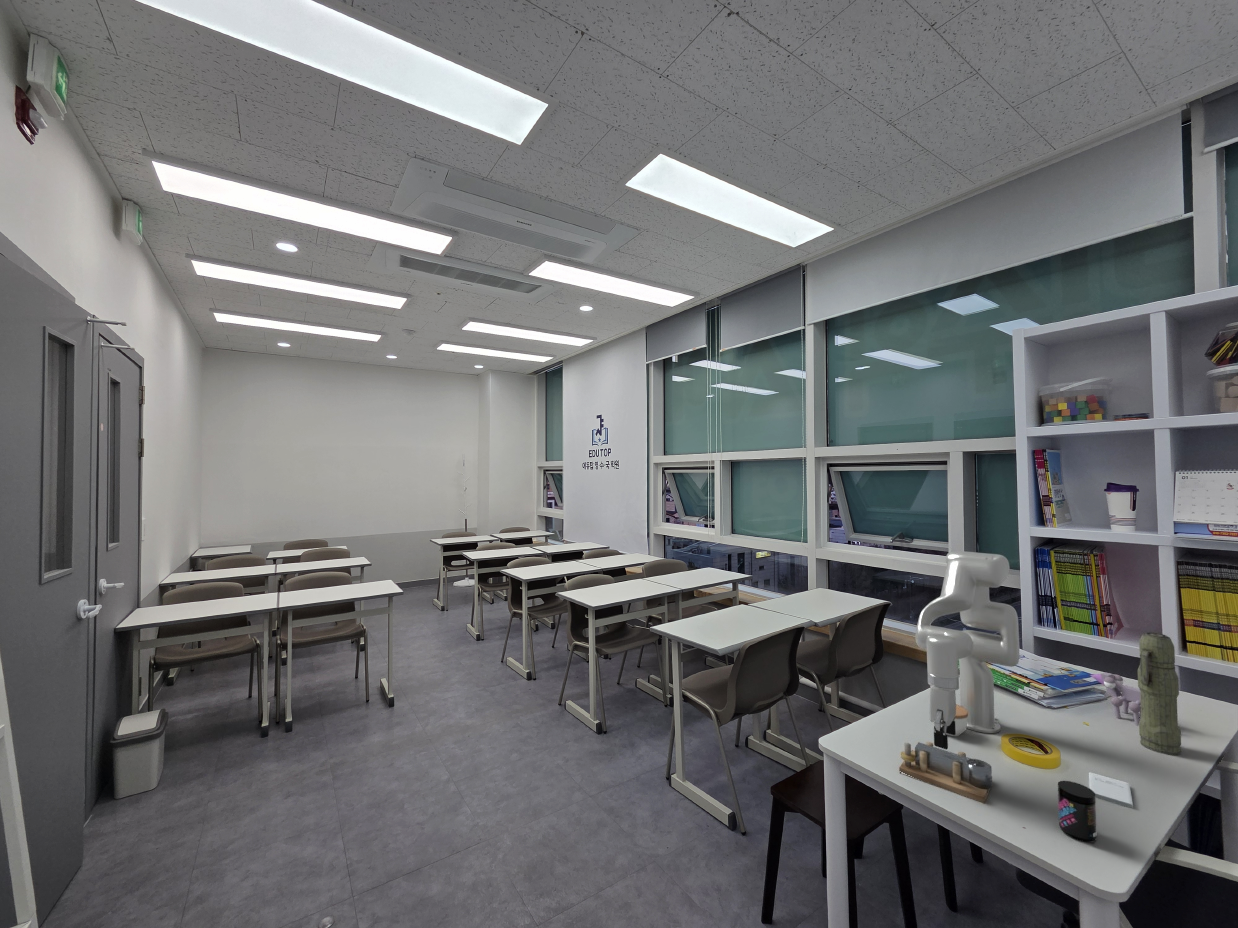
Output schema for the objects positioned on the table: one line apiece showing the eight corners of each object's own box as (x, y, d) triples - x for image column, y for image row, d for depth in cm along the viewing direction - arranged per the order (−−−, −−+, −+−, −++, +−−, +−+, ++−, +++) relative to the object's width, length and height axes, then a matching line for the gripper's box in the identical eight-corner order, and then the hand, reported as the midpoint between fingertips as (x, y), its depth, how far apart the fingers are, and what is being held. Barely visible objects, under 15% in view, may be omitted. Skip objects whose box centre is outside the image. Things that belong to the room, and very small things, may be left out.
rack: (910, 754, 156) (910, 729, 156) (992, 781, 142) (991, 754, 142) (898, 772, 146) (897, 745, 147) (984, 803, 132) (983, 773, 133)
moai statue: (1190, 751, 157) (1186, 636, 158) (1168, 758, 153) (1164, 640, 154) (1152, 737, 165) (1148, 628, 166) (1130, 743, 161) (1126, 632, 162)
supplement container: (1061, 819, 126) (1060, 777, 126) (1098, 834, 121) (1097, 789, 121) (1056, 832, 121) (1055, 788, 122) (1094, 848, 116) (1093, 801, 116)
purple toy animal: (1082, 707, 186) (1082, 669, 187) (1098, 704, 191) (1098, 667, 191) (1156, 732, 168) (1156, 690, 169) (1172, 728, 172) (1172, 687, 173)
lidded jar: (957, 724, 175) (956, 696, 175) (975, 740, 164) (975, 710, 164) (924, 723, 176) (923, 695, 176) (940, 738, 165) (940, 709, 165)
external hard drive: (1089, 797, 135) (1089, 776, 144) (1133, 810, 130) (1129, 788, 139) (1089, 791, 135) (1088, 771, 145) (1133, 804, 130) (1129, 782, 139)
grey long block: (919, 758, 151) (919, 740, 151) (993, 782, 139) (993, 763, 139) (914, 765, 147) (914, 747, 147) (990, 791, 135) (989, 772, 135)
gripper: (935, 667, 154) (937, 723, 154) (920, 686, 141) (922, 748, 141) (964, 673, 148) (966, 732, 148) (951, 694, 136) (954, 758, 136)
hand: (945, 739), depth 145 cm, fingers open, 9 cm apart
